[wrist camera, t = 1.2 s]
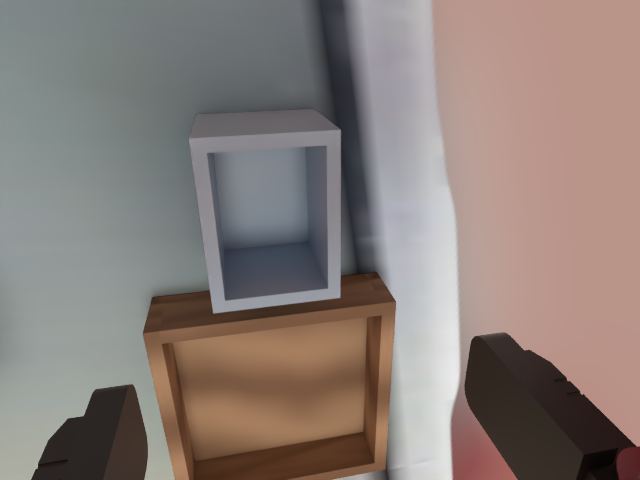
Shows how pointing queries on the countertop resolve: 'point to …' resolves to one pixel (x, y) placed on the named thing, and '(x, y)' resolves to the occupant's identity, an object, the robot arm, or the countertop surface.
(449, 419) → the countertop surface
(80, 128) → the countertop surface
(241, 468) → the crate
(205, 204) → the grey open bin
